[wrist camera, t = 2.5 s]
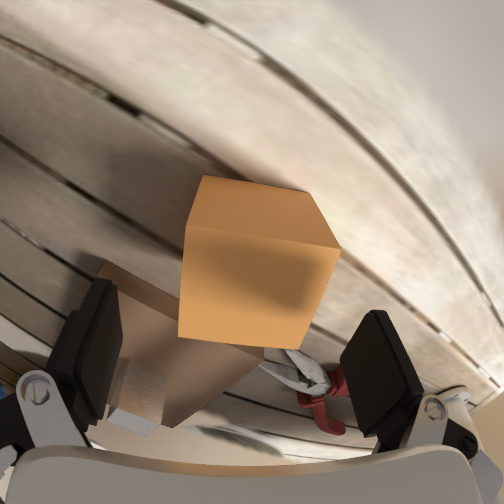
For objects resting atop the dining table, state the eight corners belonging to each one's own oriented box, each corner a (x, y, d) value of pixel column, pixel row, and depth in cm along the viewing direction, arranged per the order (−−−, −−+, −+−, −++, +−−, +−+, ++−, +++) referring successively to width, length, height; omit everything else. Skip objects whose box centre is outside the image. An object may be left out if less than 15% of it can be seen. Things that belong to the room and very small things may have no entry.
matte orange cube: (310, 193, 17) (341, 249, 12) (284, 278, 20) (298, 349, 15) (203, 174, 16) (185, 224, 11) (191, 265, 19) (177, 336, 14)
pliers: (323, 302, 22) (331, 327, 19) (411, 382, 30) (418, 399, 28) (217, 369, 26) (216, 393, 23) (334, 423, 34) (337, 440, 32)
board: (262, 340, 23) (269, 412, 17) (174, 413, 29) (168, 464, 24) (106, 259, 18) (67, 330, 13) (65, 365, 25) (46, 416, 19)
